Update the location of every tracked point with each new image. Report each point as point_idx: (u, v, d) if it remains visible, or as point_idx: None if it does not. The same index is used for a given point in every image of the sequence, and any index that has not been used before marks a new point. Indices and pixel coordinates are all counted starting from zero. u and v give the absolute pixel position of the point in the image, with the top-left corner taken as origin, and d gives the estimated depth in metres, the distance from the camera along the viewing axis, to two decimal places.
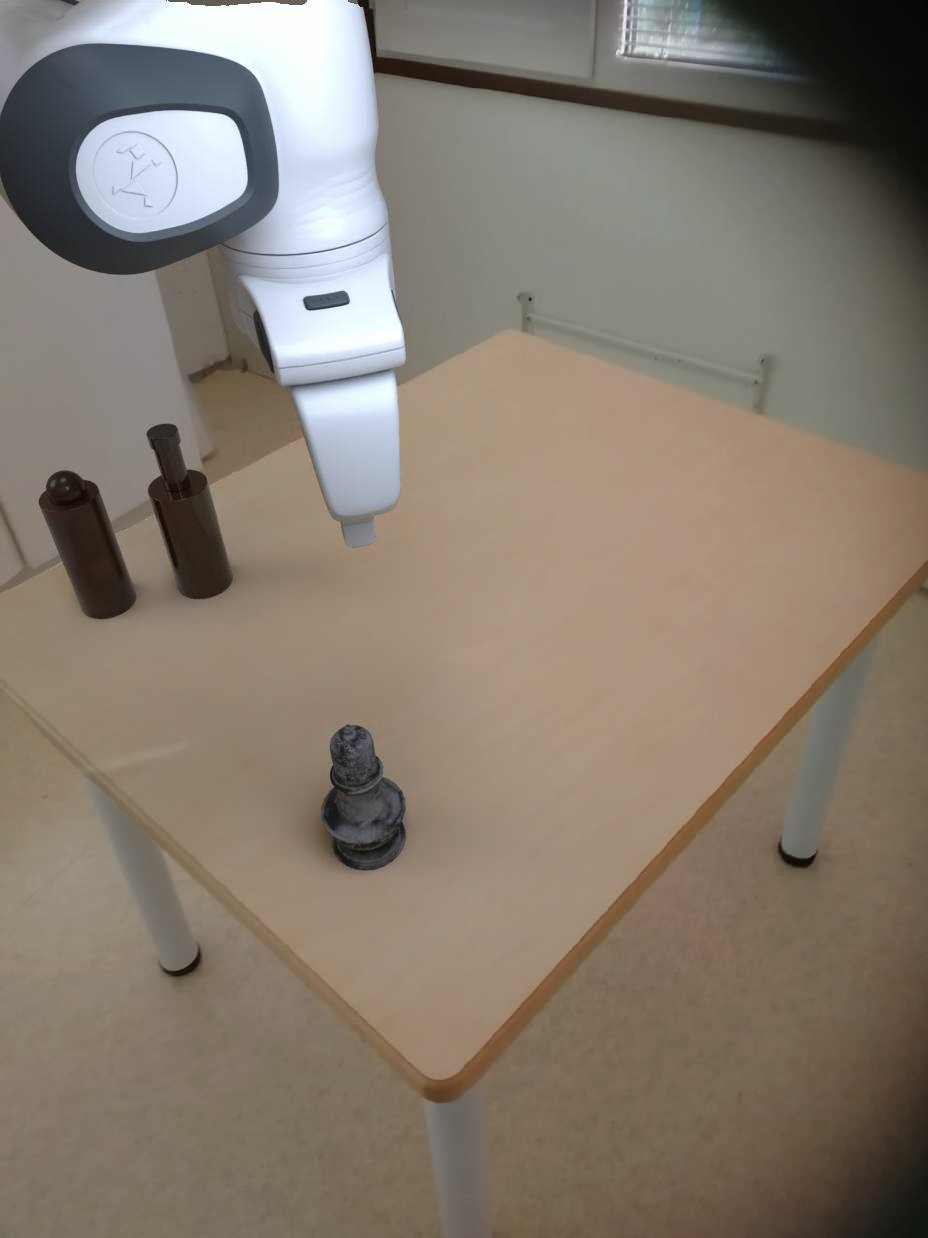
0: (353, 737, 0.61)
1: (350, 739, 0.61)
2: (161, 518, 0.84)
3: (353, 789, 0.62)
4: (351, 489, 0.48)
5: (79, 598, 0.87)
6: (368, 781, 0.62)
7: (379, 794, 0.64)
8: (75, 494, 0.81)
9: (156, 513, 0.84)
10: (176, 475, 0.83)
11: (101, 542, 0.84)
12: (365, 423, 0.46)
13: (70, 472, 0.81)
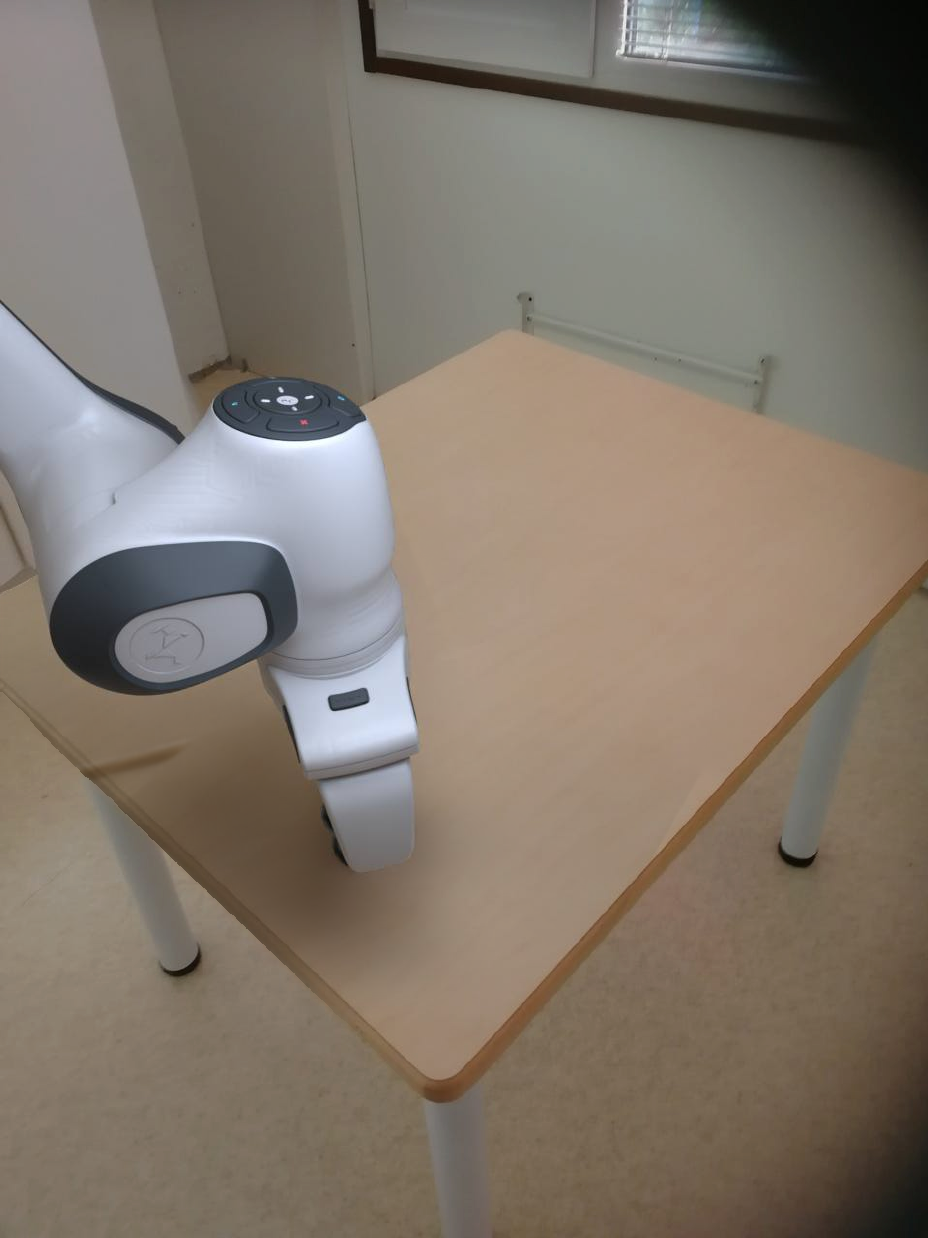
0: None
1: None
2: None
3: None
4: (370, 854, 0.53)
5: None
6: None
7: None
8: None
9: None
10: None
11: None
12: (383, 806, 0.51)
13: None
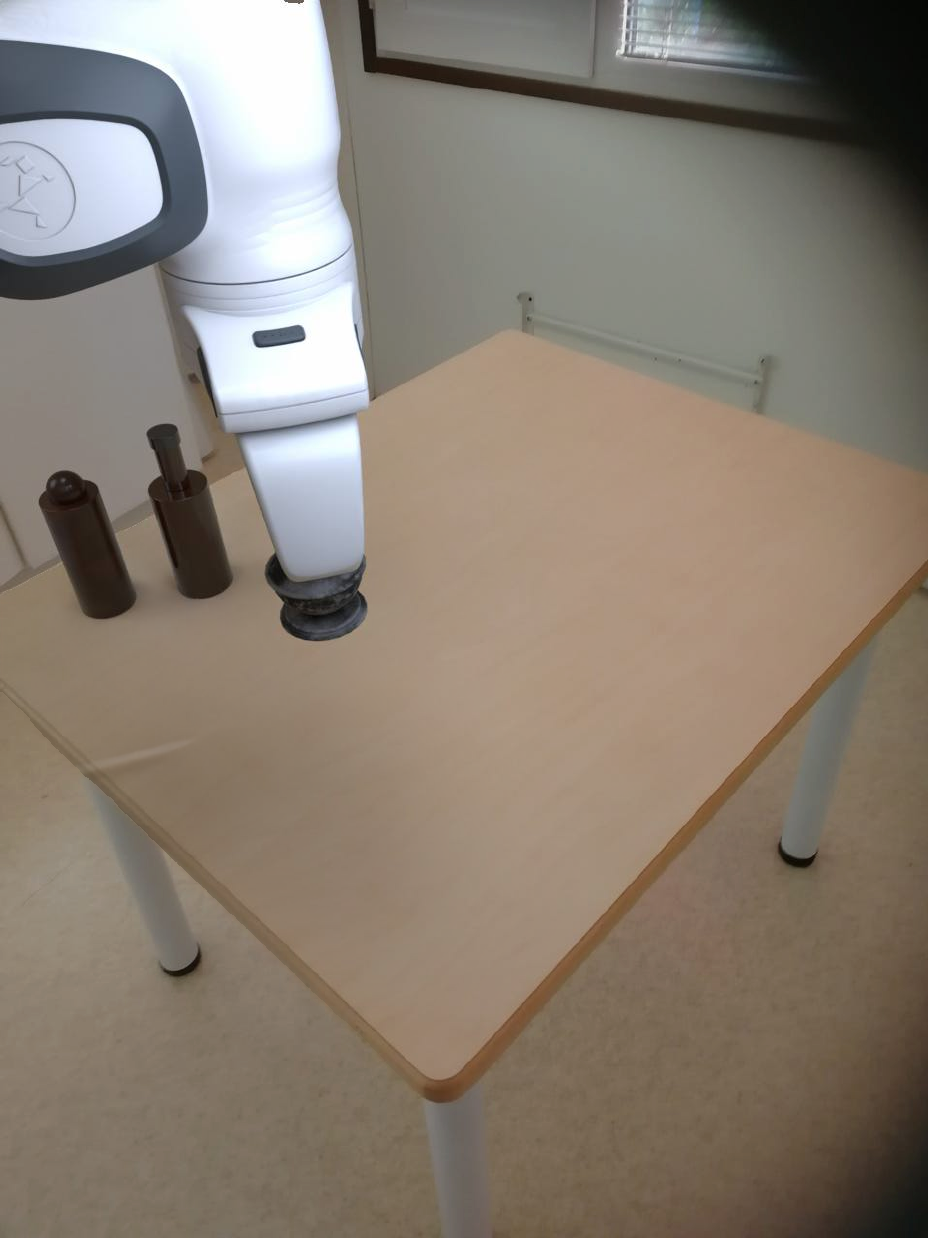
0: None
1: None
2: (161, 518, 0.84)
3: None
4: (308, 548, 0.42)
5: (79, 598, 0.87)
6: None
7: None
8: (75, 494, 0.81)
9: (156, 513, 0.84)
10: (176, 475, 0.83)
11: (101, 542, 0.84)
12: (323, 476, 0.41)
13: (70, 472, 0.81)
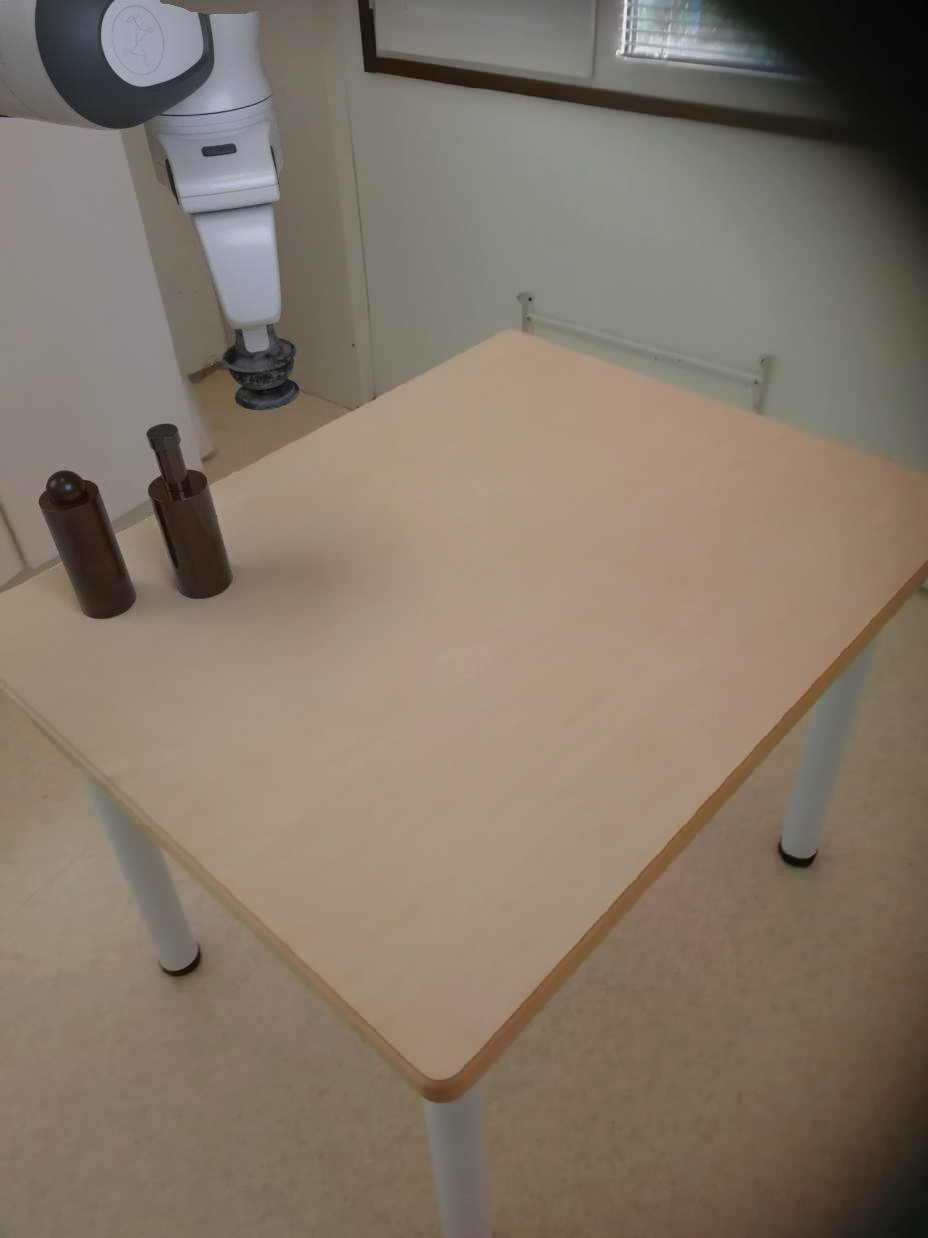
0: None
1: None
2: (161, 518, 0.84)
3: None
4: (241, 298, 0.63)
5: (79, 598, 0.87)
6: None
7: (271, 331, 0.74)
8: (75, 494, 0.81)
9: (156, 513, 0.84)
10: (176, 475, 0.83)
11: (101, 542, 0.84)
12: (249, 244, 0.61)
13: (70, 472, 0.81)
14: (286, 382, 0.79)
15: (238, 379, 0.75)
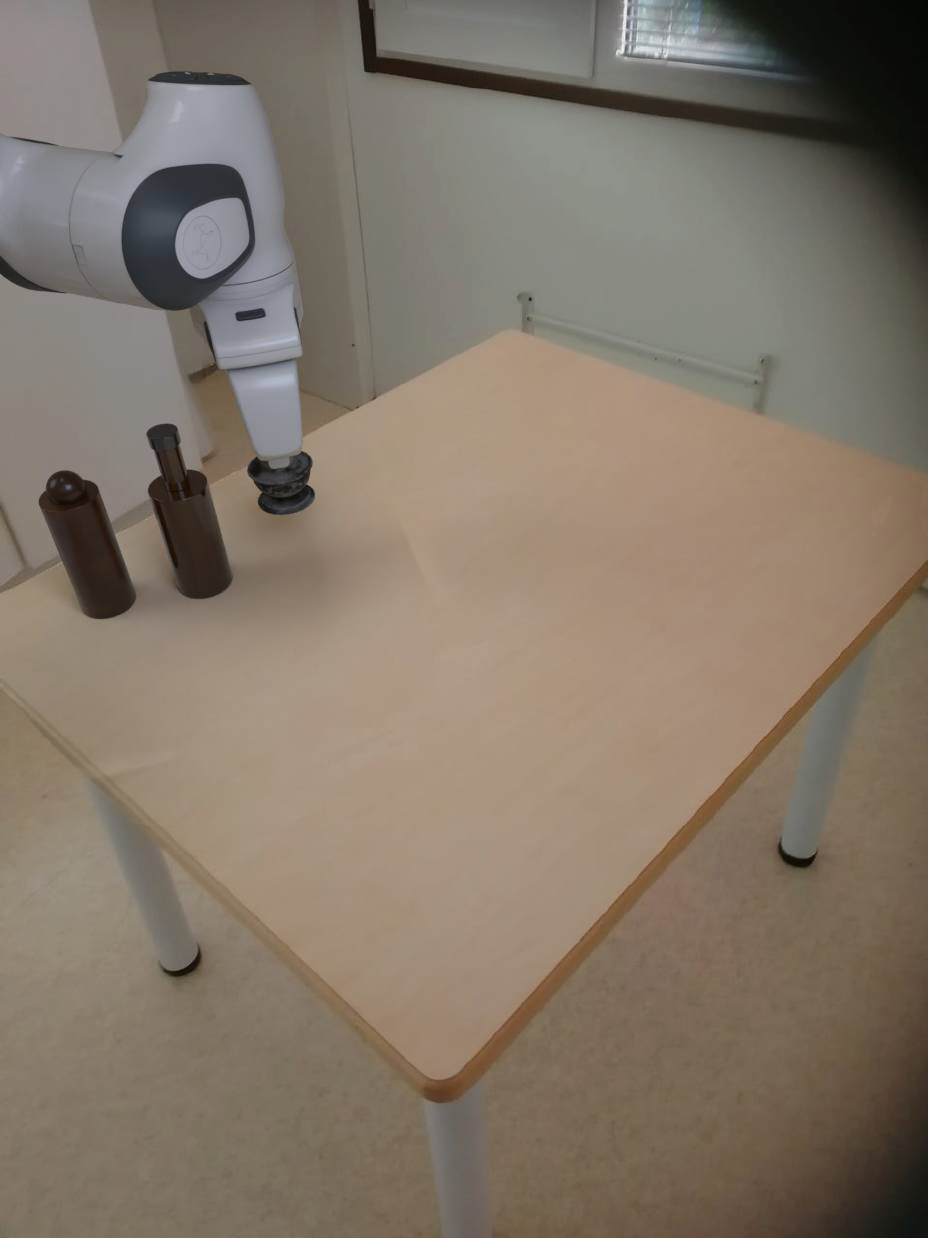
0: None
1: None
2: (161, 518, 0.84)
3: None
4: (268, 438, 0.73)
5: (79, 598, 0.87)
6: None
7: None
8: (75, 494, 0.81)
9: (156, 513, 0.84)
10: (176, 475, 0.83)
11: (101, 542, 0.84)
12: (276, 394, 0.71)
13: (70, 472, 0.81)
14: (303, 487, 0.89)
15: (261, 489, 0.85)
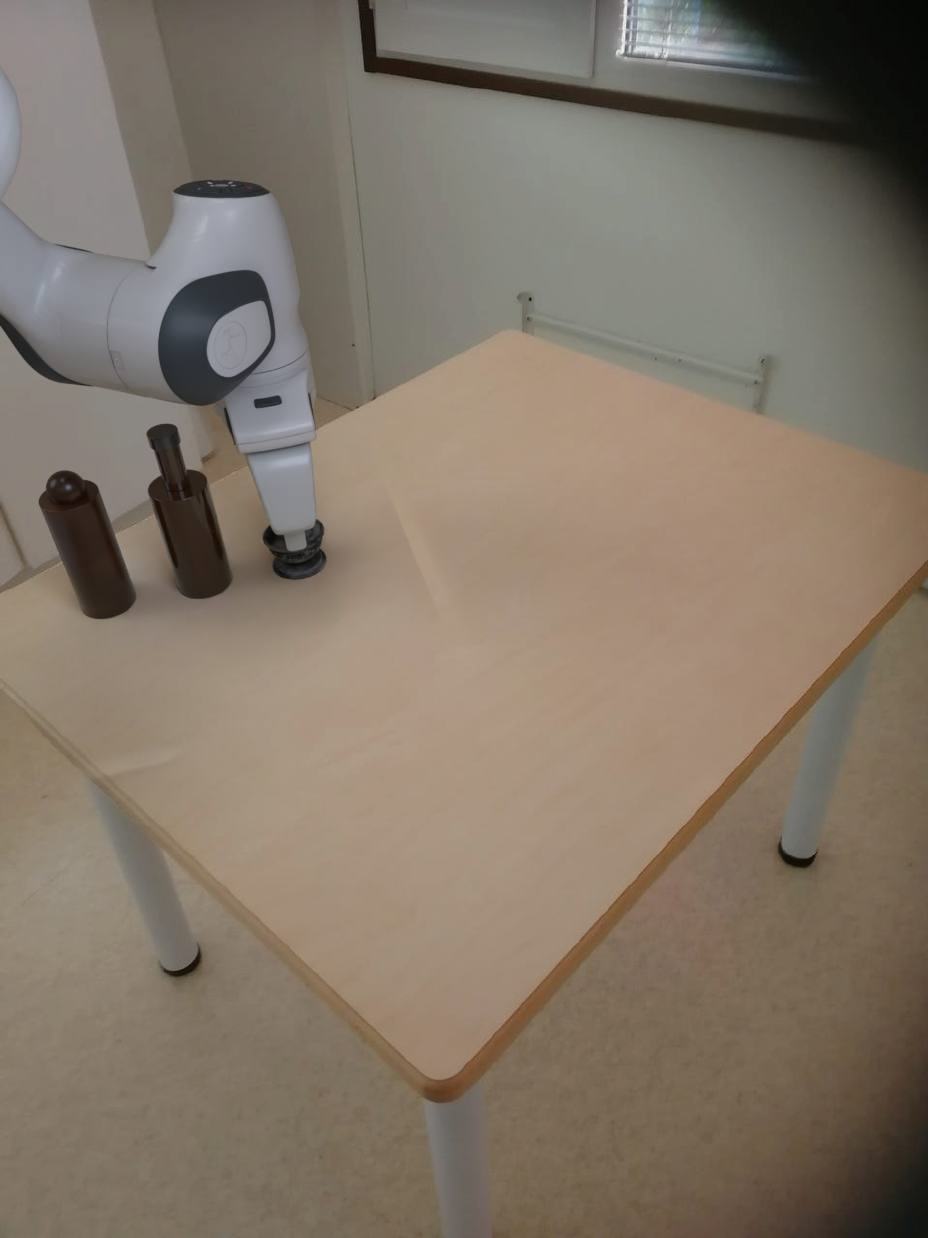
0: None
1: None
2: (161, 518, 0.84)
3: None
4: (284, 515, 0.78)
5: (79, 598, 0.87)
6: None
7: None
8: (75, 494, 0.81)
9: (156, 513, 0.84)
10: (176, 475, 0.83)
11: (101, 542, 0.84)
12: (292, 475, 0.76)
13: (70, 472, 0.81)
14: None
15: (276, 555, 0.90)
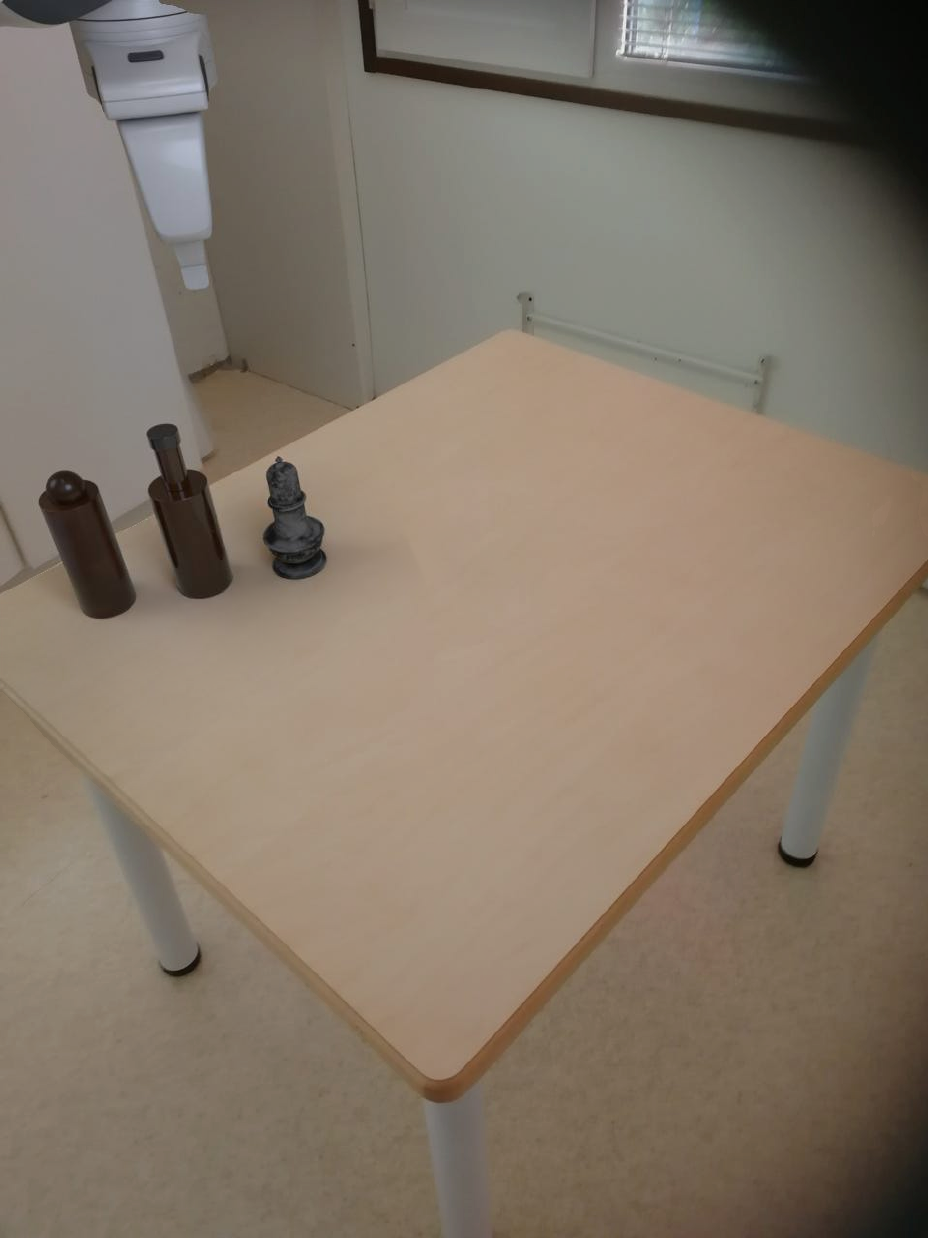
0: (282, 465, 0.86)
1: (280, 467, 0.85)
2: (161, 518, 0.84)
3: (283, 507, 0.87)
4: (169, 210, 0.62)
5: (79, 598, 0.87)
6: (294, 503, 0.87)
7: (304, 517, 0.89)
8: (75, 494, 0.81)
9: (156, 513, 0.84)
10: (176, 475, 0.83)
11: (101, 542, 0.84)
12: (176, 153, 0.60)
13: (70, 472, 0.81)
14: None
15: (276, 555, 0.90)
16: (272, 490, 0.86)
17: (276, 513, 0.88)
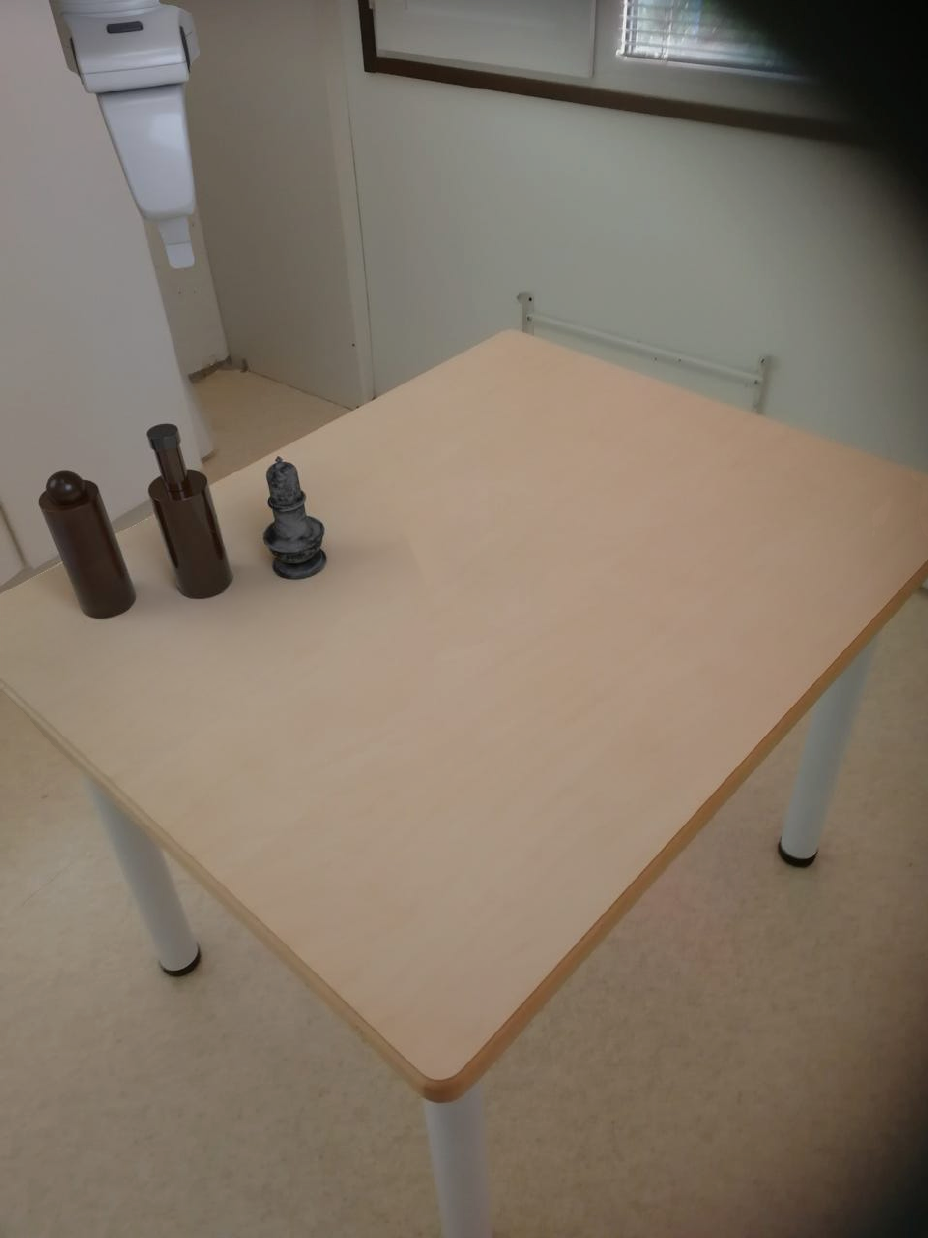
0: (282, 465, 0.86)
1: (280, 467, 0.85)
2: (161, 518, 0.84)
3: (283, 508, 0.87)
4: (151, 185, 0.61)
5: (79, 598, 0.87)
6: (294, 503, 0.87)
7: (304, 517, 0.89)
8: (75, 494, 0.81)
9: (156, 513, 0.84)
10: (176, 475, 0.83)
11: (101, 542, 0.84)
12: (157, 126, 0.59)
13: (70, 472, 0.81)
14: None
15: (276, 555, 0.90)
16: (272, 490, 0.86)
17: (276, 513, 0.88)
